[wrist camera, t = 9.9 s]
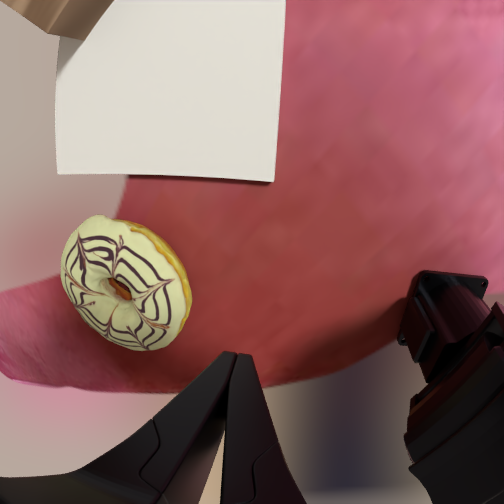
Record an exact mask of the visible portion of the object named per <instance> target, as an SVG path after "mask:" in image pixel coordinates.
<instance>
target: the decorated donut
mask: <svg viewBox="0 0 504 504" xmlns="http://www.w3.org/2000/svg"><path fill="white" fill-rule="evenodd" d="M114 278H115V279H116V280H118V281H120V282H122V283H123V284H125V285H126V286H128V287H129V289H130V291H131V293H130V292H128V291H126V290H125V289H123V288H121V287H120V286H119V285H118V284H117V283H116V281H115V280H114ZM61 280H62V284H63V287H64V289H65V291H66V293H67V295H68V296H69V298H70V300H71V301H72V303H73V305H74V307H75V308H76V309H77V311H78V312H79V313H80V315H81V317H82V318H83V319H84V321H85V322H86V323H87V324H88V325H89V326H90V327H92V328H93V329H95V330H96V331H97V332H99V333H100V334H101V335H102V336H103V337H104V338H106V339H107V340H109V341H112V342H114V343H116V344H118V345H121V346H124V347H126V348H129V349H131V350H139V351H144V350H156V349H159V348H162V347H166V346H167V345H169V343H170V342H171V341H173V340H174V338H175V337H177V335H178V334H179V332H180V331H181V329H182V328H183V325H184V323H185V321H186V319H187V317H188V315H189V312H190V307H191V304H192V294H191V289H190V286H189V281H188V277H187V274H186V270H185V268H184V266H183V264H182V263H181V261H180V259H179V258H178V257H177V255H176V254H175V252H174V251H173V249H172V248H171V247H170V245H169V244H168V243H167V242H166V241H165V240H163V239H162V238H161V237H160V236H159V235H157V234H156V233H154V232H153V231H152V230H150V229H148V228H147V227H145V226H143V225H140V224H138V223H135V222H131V221H127V220H121V219H120V220H119V219H110V218H108V217H106V216H104V215H95V216H92V217H90V218H88V219H87V220H85V221H84V222H83V223H82V224H81V225H80V226H79V227H78V228H77V229H76V230H75V231H74V232H73V233H72V234H71V236H70V238H69V240H68V241H67V243H66V245H65V248H64V251H63V253H62V258H61Z"/></svg>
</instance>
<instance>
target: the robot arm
mask: <svg viewBox="0 0 504 504" xmlns="http://www.w3.org/2000/svg"><path fill="white" fill-rule="evenodd" d="M426 276H428V278H427V279H425V280H424V278H425V277H426ZM483 282H484V283H483ZM482 283H483V284H482ZM481 284H482V285H481ZM487 286H488V280H487V279H486V278H485V277H484V276H475V275H466V274H457V273H448V272H438V271H429V270H424V271H422V272H421V273H420V275H419V278H418V281H417V284H416V287H415V290H414V293H413V296H412V297H411V298H410V300H409V302H408V305H407V308H406V311H405V314H404V316H403V319H402V322H401V324H400V328H401V329H400V332H399V334H398V337H397V341H398V343H399V344H400V345H403V346H404V345H405V346H408V348H409V351H410V353H411V356H412V359H413V361H414V362H415V363H419V365H420V367H421V370H422V373H423V376H424V379H425V381H426V383H429V384H428V385H427V386H426V387H425V388H424V389H423V390H421V391H420V392H419V394H416V395H414V396H413V397H412V398H411V400H410V413H409V416H408V421H407V432H406V433H405V434H404V442H405V446H406V450H407V452H408V455H409V457H410V460H411V461H412V463H413V464H412V465H410V466H409V471H410V472H411V473H412V474H413V475H414V476H415V477H417V478H418V479H419V480H420V482H421V483H422V485H423V486H424V487H425V488H426V490H427V492H428V494H429V496H430V498H431V501H432V503H433V504H504V306H503V305H501V304H499V303H498V302H495V304H494V305H493V307H492V308H491V309H492V310H490V308H489V307H488V306H487V305H486V303H485V302H484V301H483V296H484V294H485V291H486V289H487ZM403 338H405V339H404V340H402V339H403ZM152 419H153V420H152ZM152 419H150V420H149V421H148V422H147V423H146V424H144V425H143V426H142V427H141V428H140V429H139V430H137V431H136V432H135V433H134V434H132V435H131V436H130V437H129V438H127V439H126V440H124V441H123V442H121V443H120V444H118V445H117V446H116V447H114V448H112V449H111V450H109V451H108V452H106V453H105V454H103V455H102V456H100V457H98V458H97V459H95V460H94V461H92V462H90V463H89V464H87V465H85V466H84V467H82V468H80V469H78V470H75V471H72V472H69V473H65V474H59V475H48V476H36V477H12V478H9V477H0V504H198V503H199V501H200V498H201V495H202V493H203V490H204V487H205V484H206V482H207V479H208V476H209V473H210V471H211V468H212V465H213V462H214V459H215V456H216V454H217V451H218V448H219V445H220V442H221V439H222V436H223V434H224V431H225V438H224V453H223V467H222V481H221V496H220V504H307V503H306V501H305V500H304V498H303V496H302V494H301V492H300V491H299V489H298V487H297V485H296V483H295V481H294V479H293V477H292V475H291V473H290V471H289V468H288V466H287V464H286V461H285V458H284V455H283V453H282V450H281V447H280V444H279V442H278V438H277V435H276V432H275V429H274V426H273V422H272V419H271V416H270V413H269V410H268V407H267V403H266V400H265V397H264V394H263V390H262V387H261V384H260V381H259V377H258V374H257V371H256V368H255V364H254V361H253V358H252V356H251V355H250V354H242V353H239V354H238V355H237V353H235V352H228V351H224V352H222V353H221V354H220V355H219V356H218V357H217V358H216V359H215V360H214V361H213V362H212V363H211V364H210V365H209V366H208V367H207V368H205V369H204V370H203V371H202V372H201V373H200V374H199V375H198V376H197V377H196V378H195V379H194V380H193V381H192V382H191V383H190V384H189V385H187V386H186V387H185V388H184V389H183V390H182V391H181V392H180V393H179V394H178V395H177V396H176V397H174V398H173V399H172V400H171V401H170V402H169V403H168V404H167V405H166V406H165V407H164V408H162V409H161V411H159V412H158V413H157V414H156V415H155V416H154V417H153V418H152Z"/></svg>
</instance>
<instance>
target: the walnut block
mask: <svg viewBox="0 0 504 504" xmlns="http://www.w3.org/2000/svg"><path fill="white" fill-rule="evenodd" d="M0 1H2V2H3V3H5V4H6V5H8V6H9V7H11V8H12V9H13V10H15V11H16V12H18V13H19V14H21V15H22V16H23V17H25V18H26V19H28V20H29V21H31V22H32V23H33V24H35V25H36V26H38V27H39V28H41V29H42V30H43V31H45V32H46V33H48V34H53V35H58V36H63V37H68V38H73V39H78V40H82V41H85V40H86V38H87V37H88V35H89V34H90V32H91V31H92V29H93V28H94V26H95V25H96V24H97V22H98V21H99V20H100V18H101V17H102V15H103V14H104V13H105V11H106V10H107V9H108V8H109V6H110V5H111V4H112V3H113V1H114V0H0Z"/></svg>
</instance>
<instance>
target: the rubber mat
mask: <svg viewBox="0 0 504 504" xmlns="http://www.w3.org/2000/svg"><path fill="white" fill-rule="evenodd" d="M285 10H286V0H114V1H113V3H112V4H111V5H110V6H109V8H108V9H107V10H106V11H105V13H104V14H103V15H102V17H101V18H100V20H99V21H98V22H97V24H96V25H95V26H94V28H93V29H92V31H91V32H90V34H89V35H88V37H87V38H86V40H85V41H82V40H78V39H73V38H68V37H63V36H60V43H59V51H58V62H57V76H56V98H55V134H56V135H55V136H56V157H57V171H58V175H65V174H66V175H69V174H146V175H177V176H198V177H216V178H231V179H244V180H256V181H268V182H274V177H275V164H276V150H277V137H278V123H279V108H280V93H281V78H282V62H283V46H284V28H285Z"/></svg>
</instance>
